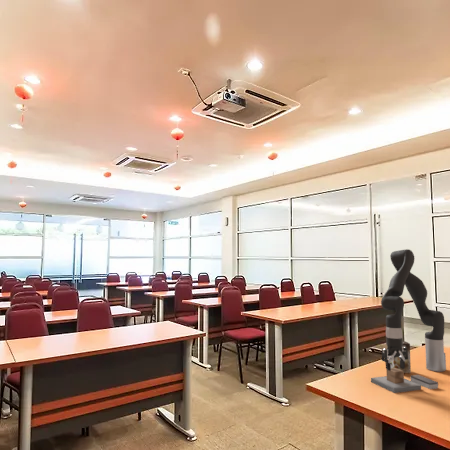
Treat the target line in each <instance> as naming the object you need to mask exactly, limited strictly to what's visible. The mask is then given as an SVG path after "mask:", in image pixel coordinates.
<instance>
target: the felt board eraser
mask: <svg viewBox="0 0 450 450" xmlns="http://www.w3.org/2000/svg"><path fill="white" fill-rule="evenodd" d="M410 381H412V382H414V383H417V384H419V385H421V387H424V388H426V389H428V390H437V389H439V382H438V381H435V380H434V379H433V380H432V379H430V378H428V377H425V376H423V375H420V374H414V375H410Z"/></svg>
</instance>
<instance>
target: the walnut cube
mask: <svg viewBox="0 0 450 450" xmlns="http://www.w3.org/2000/svg"><path fill="white" fill-rule="evenodd" d="M385 369H386V368H385ZM404 375H405V373H404V371H402V370H400V369H397V368H391V370H390V371H389V370H387V369H386V376H387V380H388V381H390V382H392V383H395V384H396V383H404V378H405V377H404Z"/></svg>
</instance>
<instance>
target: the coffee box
mask: <svg viewBox="0 0 450 450" xmlns="http://www.w3.org/2000/svg"><path fill="white" fill-rule="evenodd" d="M402 341H403V347H406V348H407V350H408V360H407V359H406V360H405V368H404V369H402V368H400V359H399V357H395V358H393V359H392V360H391V362H390V363H391V368H397V369H400V370H402V371H404V374H411V372H412V370H411V369H412V368H411V344H410V343H409V342H407V341H405V340H402ZM401 353H402V352H401Z"/></svg>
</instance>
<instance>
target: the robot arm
mask: <svg viewBox="0 0 450 450" xmlns="http://www.w3.org/2000/svg"><path fill="white" fill-rule="evenodd" d="M390 261H391V264H392V265H393V267H394V269H395V270H396V272H395V274H394V275H393V276H392V277H391V279H390V282H389V285H388V289H387V290H386V292H385V293H384V295H383V296H382V298H381V301H380V305H381V307H382V308H383V310H387V311H395V312H394V313H393V314H387V315H386V316H385V344H386V347H387V348H381V361H382V362H384V363H385V369H387V370H389V371H390V370H391V363H390V362H391V360H392V359H393V358H395V357H399V359H400V368H402V369H404V368H405V360H406V359H407V360H408V350H407V348H406V347H403V341H404V340H403V331H402V315H403V311H404V307H405V301H404V299H403V297H402V296H403V293H404V290H405V288H406V290H407V292H408V294H409V296H410V297H411V300H412V301H413V303H414V306H415V308H416V310H417V313H418V316H419V318H420V321H421V322H422V324H424V325H425V326H429V327H432V330H431V331H426V332H425V334H424V343H425V346H424V347H425V364H426V365H425V367H426V369H427V370H429V371H432V372H440V373H441V372H446V370H447V359H446V352H445V348H444V347H445V345H444V344H445V343H444V335H445V316H444V314H443V312H442V311H440V310H435V309H429V307H428V306H427V303H426V301H427V298H428V290H427V288H426V286H425V284H424V282H423V280H421V279H420V278H419V277H418V276H416V275H415V274H414V273H412V272H411V270H412V268H413V266H414V264H415V255H414V252H413V251H412V250H411V249H408V248H407V249H401V250H395V251H392V252H391V253H390ZM401 352H402V353H401ZM387 370H386V371H387Z"/></svg>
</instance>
